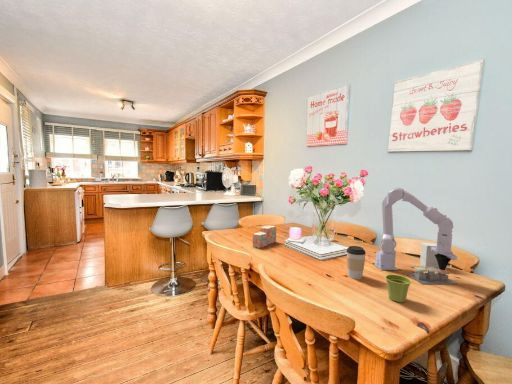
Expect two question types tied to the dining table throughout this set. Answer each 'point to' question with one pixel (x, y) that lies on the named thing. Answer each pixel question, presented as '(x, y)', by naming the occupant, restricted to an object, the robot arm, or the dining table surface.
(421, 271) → the key sage
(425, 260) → the supplement box
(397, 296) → the plant pot
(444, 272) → the key terracotta
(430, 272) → the key cream
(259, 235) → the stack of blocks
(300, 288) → the dining table surface
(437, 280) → the keypad base
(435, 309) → the dining table surface
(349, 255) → the coffee cup
